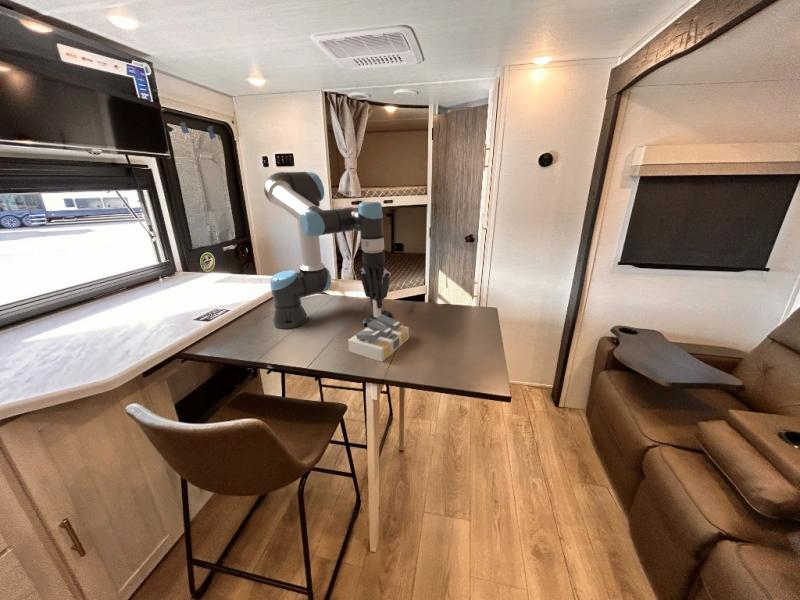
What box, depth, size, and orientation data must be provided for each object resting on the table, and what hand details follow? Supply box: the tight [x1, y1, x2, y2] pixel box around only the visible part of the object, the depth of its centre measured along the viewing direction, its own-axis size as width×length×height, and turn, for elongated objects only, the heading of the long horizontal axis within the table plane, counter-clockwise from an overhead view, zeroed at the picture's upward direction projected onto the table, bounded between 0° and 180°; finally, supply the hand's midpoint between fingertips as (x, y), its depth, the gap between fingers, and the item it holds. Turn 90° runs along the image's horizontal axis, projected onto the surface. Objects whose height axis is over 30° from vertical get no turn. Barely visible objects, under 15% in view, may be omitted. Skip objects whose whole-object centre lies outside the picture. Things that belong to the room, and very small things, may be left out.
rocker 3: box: [377, 314, 402, 330], centre depth 126 cm, size 9×4×2 cm, turn 60°
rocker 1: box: [355, 330, 382, 340], centre depth 115 cm, size 9×4×2 cm, turn 59°
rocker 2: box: [366, 320, 392, 337], centre depth 120 cm, size 9×4×2 cm, turn 60°
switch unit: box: [347, 321, 410, 363], centre depth 122 cm, size 15×20×6 cm
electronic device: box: [362, 309, 395, 329], centre depth 143 cm, size 9×6×15 cm
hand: (377, 315), depth 111 cm, fingers closed
